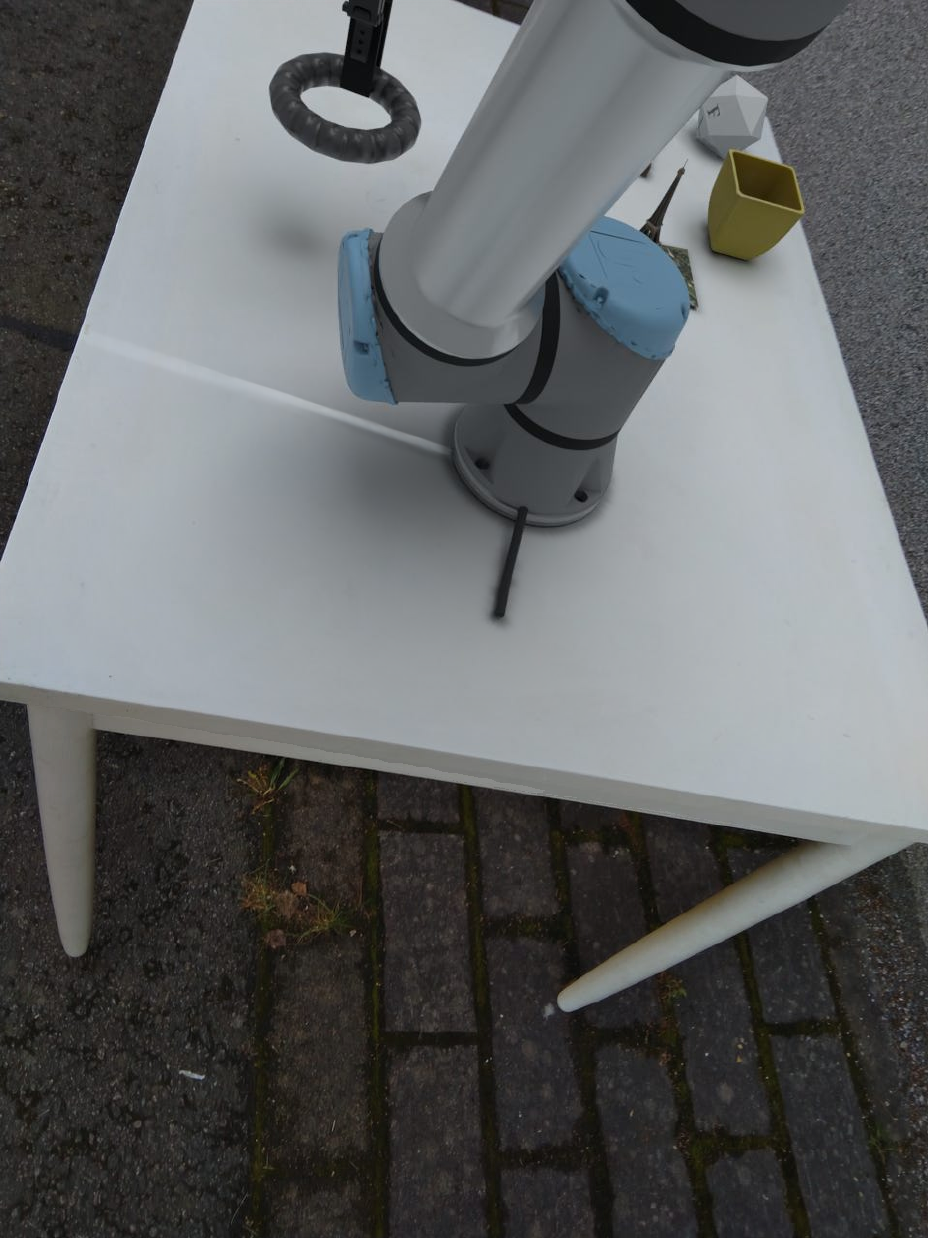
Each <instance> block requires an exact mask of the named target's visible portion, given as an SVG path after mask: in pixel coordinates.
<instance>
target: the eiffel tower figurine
mask: <svg viewBox="0 0 928 1238" xmlns="http://www.w3.org/2000/svg"><path fill="white" fill-rule="evenodd" d="M688 161H689V158H687V160H686V161H685V163H684V165H683V166H682V167H681V168H679V169H678V170H677V172H676V173H677V174H676V176H675V178H674V179H673V181H672V183H671V184H670V186H669V187H668V189H667V191H666V192H665V194H664V196H663V198H662V199H661V201H660V202H659V204H658V206H657V207H656V209H655V210H654V212H653V213H652V215H650V217H649V218H647V219H646V220H645V221H646V222H645V223H644V224H643V226H641V227H640V229H638V231H640V232H642V233H643V234H645V235H646V236H647V237H649V238H650V239H651V240H652V241H653V242H654V243H656V244H657V245H658V246H659V247H660V248H661V249H663V250H664V251H665V252H666V253H667V254H668V256H669V257H670V258H671V259H672V260H673V262H674V263H675V264H676V266H677V267H678V269H679V271H680V272H681V274H682V276H683V278H684V280H685V282H686V285H687V288H688V291H689V296H690V307H691V306H692V307H696V308H699V302H698V297H697V292H696V287H695V282H694V281H695V280H694V277H693V276H694V275H693V272H692V266H691V261H690V256H689V251H688V248H683V247H677V246H671V245H667V244H663V243H662V241H660V238H661V231H662V227H663V226H664V223H663V222H664V218H665V216H666V213H667V210H668V208H669V206H670V204H671V201H672V198H673V197H674V194H675V192H676V190H677V187H678V185H679V183H680V181H681V178H682V177H683V175H685V172H686V169H685V167H686V165H687V163H688Z"/></svg>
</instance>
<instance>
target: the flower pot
mask: <svg viewBox="0 0 928 1238" xmlns="http://www.w3.org/2000/svg"><path fill="white" fill-rule="evenodd" d="M795 171H796V170H795V168H794V167H792V166H790V165H787V164H784V163H781V162H778V161H774V160H771V159H767V158H763V157H760V156H757V155H755V154H751V153H749V152H744V151H743V150H742V151H739V150H734V149H729V151H728V154H727V156H726V158H725V160H724V159H723V162H722V165H721V168H720V170H719V172H718V174H717V176H716V179H715V181H714V184H713V187H712V188H711V192H710V196H709V201H708V208H707V229H708V235H709V242H710V248H711V250H712V251H713V252H716V253H720V254H723V255H726V256H730V257H733V258H736V259H741V260H745V261H749V260H752V259H756V258H758V257H761V256H762V255H764V254H766V253H768V252H769V251H770V250H771V249H773V248H774V247H775V246H777V244H779V243H780V242H781V241H782V239H783V238H785V236H786V235H787V234H788V233H789V232H790V231H791V230H792V229H793V227H794V226H795V225H796V224H797V223H798V222H799V221H800V220H801V218H803V216H804V215H805V206H804V202H803V198H802V194H801V190H800V186H799V182H798V178H797V173H796V172H795Z"/></svg>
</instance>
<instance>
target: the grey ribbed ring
mask: <svg viewBox="0 0 928 1238" xmlns="http://www.w3.org/2000/svg"><path fill="white" fill-rule="evenodd" d="M344 55H345V54H341V53H334V52H333V53H332V52H327V51H326V52H325V51H322V52H311V53H304V54H303V53H302V54H299V55H296V56H295V57H293V58H291V59H288V60H287V61H285V62H283V63H281V64H280V65H279V66H278V67H277V69H276V71H275V73H274V74H273V76H272V78H271V80H270V82H269V85H268V96H269V101H270V106H271V111H272V114H273V116H274V117H275V119H276V120H277V121H278V122H279V124H280V125H281V126H282V127H283V129H284V130H285V131H286V132H287V134H288V135H289V136H290V137H292V138H293V139H294V140H295V141H297V142H299V143H301V144H302V145H304V146H305V147H307V148H308V149H310V150H311V151H313V152H314V153H318V154H320V155H323V156H326V157H328V158H332V159H334V160H336V161H340V162H344V163H354V164H363V165H374V164H380V163H384V162H390V161H395V160H396V159H398V158H400V157H401V156H402V155H404V154H405V153H407V152H409V151H410V150H412V148H413V147H415V145H416V143H417V139H418V137H419V134H420V131H421V128H422V124H423V123H422V117H421V113H420V110H419V106H418V103H417V101H416V98H415V97H414V96H413V94H412V93H411V92H410V91H409V89H407V88H406V86H405V85H404V84H403V83H402V82H401V81H400V80H399V79H398V78H396V76H394V75H392V74H391V73H389V72H387V71H386V70H384V69H383V68H381V67H378V66H376V67H375V72H374V78H373V83H372V89H371V94H370V96H369V98H368V99H370V100H371V101H373V102H374V103H376V104H377V105H379V106H381V107H382V108H383V110H385V112H386V113H387V114H388V115H389V118H390V122H389V123H388V124H386V125H385V126H382V127H377V128H369V129H365V128H357V127H349V126H345V125H342V124H338V123H336V122H333V121H330V120H328V119H325V118H323V117H322V116H321V115H319V114H318V113H316V112H315V111H313V110H311V109H310V108H309V107H308V106H307V105H306V103H305V102H304V101H303V99H302V97H301V96H302V94H303V93H305V92H307V91H308V90H310V89H314V88H315V89H317V88H324V87H330V88H337V89H341V88H340V81H341V75H342V68H343V62H344Z"/></svg>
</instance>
